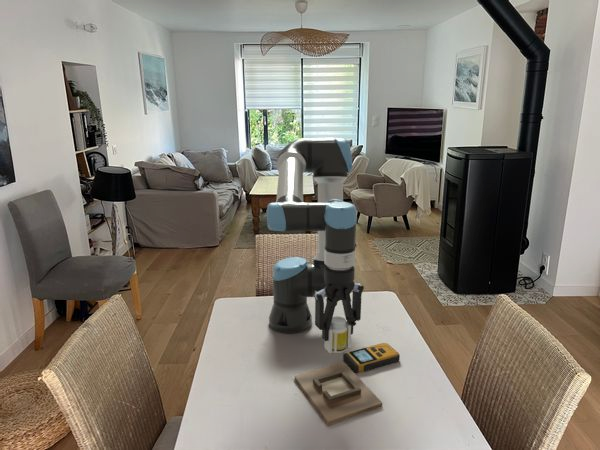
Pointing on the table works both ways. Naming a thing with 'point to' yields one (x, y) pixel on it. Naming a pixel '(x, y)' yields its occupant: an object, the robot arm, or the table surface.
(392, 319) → the table surface
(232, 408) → the table surface
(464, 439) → the table surface
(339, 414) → the board
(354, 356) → the electronic device
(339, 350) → the supplement bottle
